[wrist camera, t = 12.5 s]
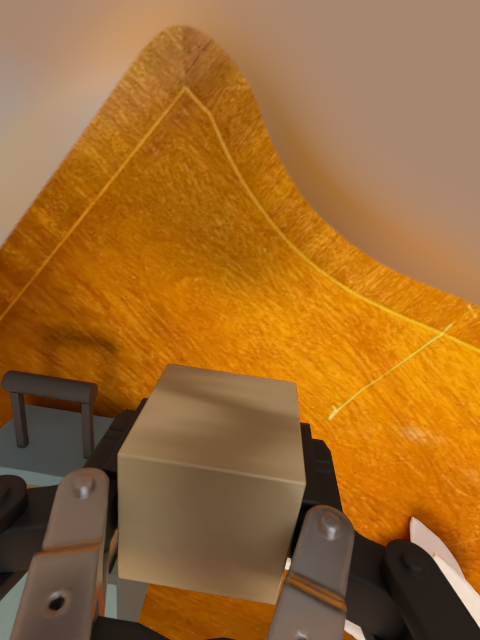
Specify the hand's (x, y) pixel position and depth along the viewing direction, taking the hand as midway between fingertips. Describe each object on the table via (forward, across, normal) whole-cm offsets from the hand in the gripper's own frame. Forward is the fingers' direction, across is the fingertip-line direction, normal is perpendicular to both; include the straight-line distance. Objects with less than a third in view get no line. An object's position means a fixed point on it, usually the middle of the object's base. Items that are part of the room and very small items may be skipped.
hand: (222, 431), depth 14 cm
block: (0, 0, 0) cm, 0 cm away
